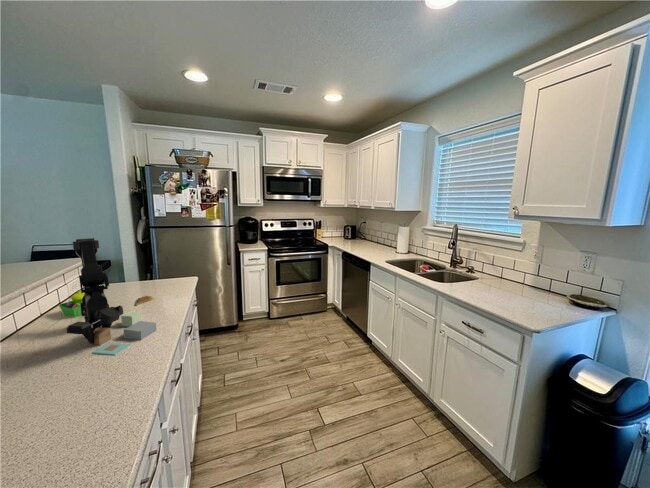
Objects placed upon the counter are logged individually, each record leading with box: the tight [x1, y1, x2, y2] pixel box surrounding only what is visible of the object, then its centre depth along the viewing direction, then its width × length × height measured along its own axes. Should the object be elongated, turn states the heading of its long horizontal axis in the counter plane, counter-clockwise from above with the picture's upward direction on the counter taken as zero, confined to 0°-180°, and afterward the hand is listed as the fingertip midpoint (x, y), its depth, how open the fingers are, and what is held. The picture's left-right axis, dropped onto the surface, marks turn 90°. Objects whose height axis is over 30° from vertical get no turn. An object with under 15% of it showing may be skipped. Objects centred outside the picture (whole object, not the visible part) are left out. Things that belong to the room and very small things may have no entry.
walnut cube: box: [87, 326, 112, 347], centre depth 106 cm, size 5×5×5 cm
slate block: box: [123, 320, 158, 341], centre depth 113 cm, size 8×8×4 cm
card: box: [92, 341, 131, 356], centre depth 102 cm, size 9×7×1 cm
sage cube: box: [120, 310, 142, 327], centre depth 122 cm, size 5×5×5 cm
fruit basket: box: [58, 289, 84, 318], centre depth 130 cm, size 11×9×11 cm
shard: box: [135, 295, 155, 306], centre depth 148 cm, size 11×8×2 cm
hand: (99, 339), depth 106 cm, fingers open, 6 cm apart
